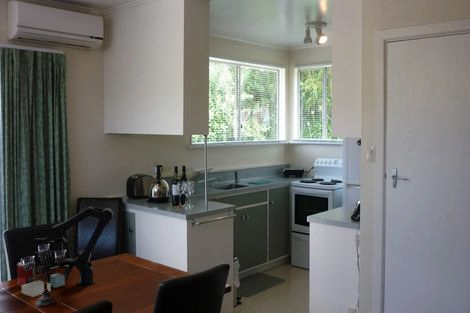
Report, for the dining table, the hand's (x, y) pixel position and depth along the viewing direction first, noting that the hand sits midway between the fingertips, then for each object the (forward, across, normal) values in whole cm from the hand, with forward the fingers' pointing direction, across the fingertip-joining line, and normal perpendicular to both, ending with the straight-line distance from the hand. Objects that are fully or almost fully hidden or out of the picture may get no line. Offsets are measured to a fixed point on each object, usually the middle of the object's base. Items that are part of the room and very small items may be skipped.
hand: (57, 283), depth 225 cm
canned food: (+1, +9, -12) cm, 15 cm away
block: (+1, 0, 0) cm, 1 cm away
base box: (+1, +12, +1) cm, 12 cm away
